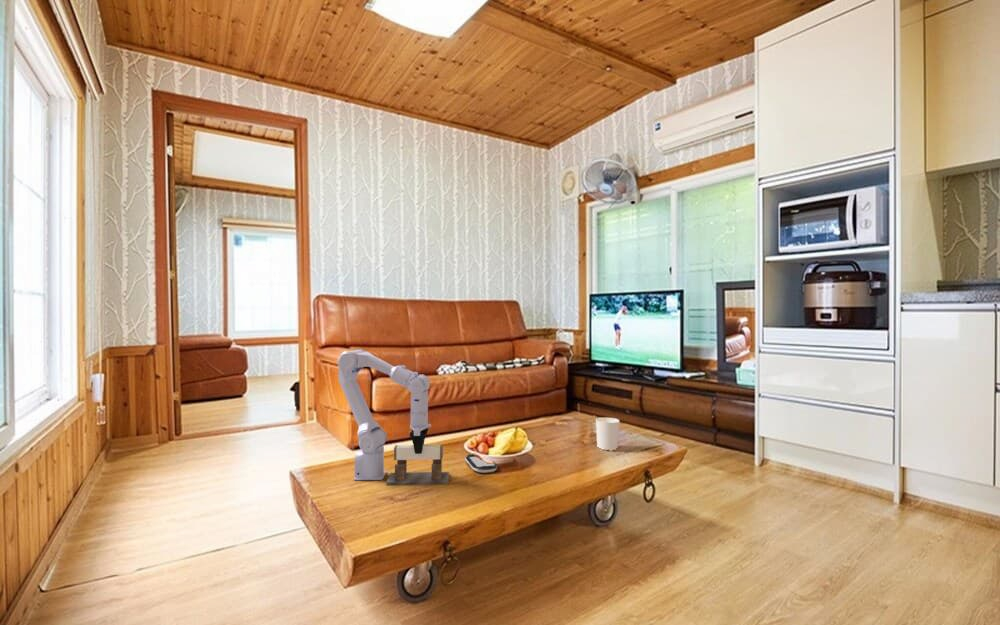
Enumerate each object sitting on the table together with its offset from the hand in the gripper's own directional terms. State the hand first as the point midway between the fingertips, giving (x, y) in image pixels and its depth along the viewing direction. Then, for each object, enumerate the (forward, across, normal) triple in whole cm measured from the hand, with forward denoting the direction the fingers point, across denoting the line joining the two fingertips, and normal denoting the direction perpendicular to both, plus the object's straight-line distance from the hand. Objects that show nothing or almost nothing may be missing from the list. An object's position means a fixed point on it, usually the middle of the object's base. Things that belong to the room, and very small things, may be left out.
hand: (418, 451), depth 159 cm
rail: (+2, 0, 0) cm, 2 cm away
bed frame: (+9, 0, 0) cm, 9 cm away
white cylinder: (+10, +33, -75) cm, 83 cm away
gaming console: (+10, +14, -21) cm, 27 cm away
